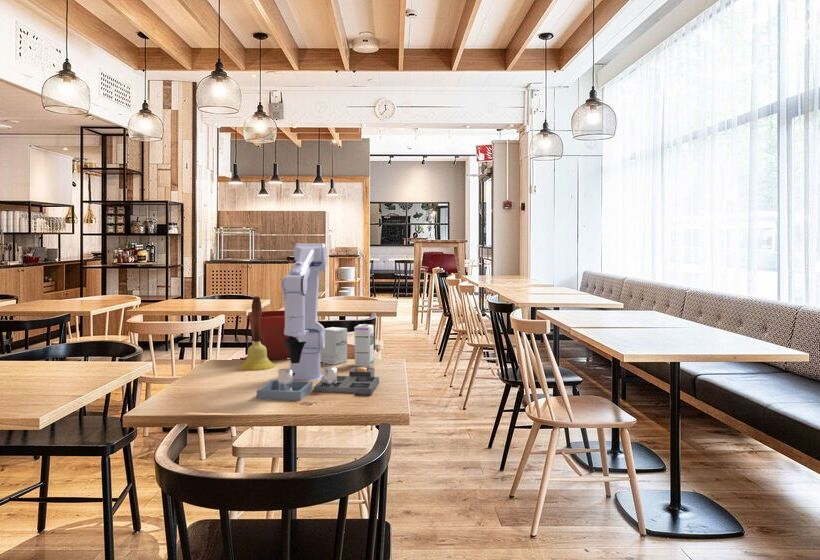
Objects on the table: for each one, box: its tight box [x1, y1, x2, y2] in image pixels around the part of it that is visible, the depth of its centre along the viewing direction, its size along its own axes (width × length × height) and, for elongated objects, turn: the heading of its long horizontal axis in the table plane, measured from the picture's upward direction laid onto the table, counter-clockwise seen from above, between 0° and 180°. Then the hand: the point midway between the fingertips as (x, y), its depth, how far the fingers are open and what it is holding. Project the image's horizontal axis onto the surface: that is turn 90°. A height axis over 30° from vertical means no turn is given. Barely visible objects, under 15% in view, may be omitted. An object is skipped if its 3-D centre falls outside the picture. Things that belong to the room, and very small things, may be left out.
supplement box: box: [320, 326, 348, 366], centre depth 222 cm, size 7×7×13 cm
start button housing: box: [348, 366, 375, 377], centre depth 197 cm, size 7×7×3 cm
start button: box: [357, 366, 367, 371], centre depth 197 cm, size 3×3×3 cm
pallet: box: [313, 375, 380, 396], centre depth 184 cm, size 17×15×2 cm
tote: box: [256, 379, 314, 402], centre depth 175 cm, size 13×13×3 cm
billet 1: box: [277, 368, 294, 391], centre depth 175 cm, size 4×4×7 cm
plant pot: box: [247, 309, 290, 361], centre depth 232 cm, size 19×19×17 cm
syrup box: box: [353, 323, 375, 367], centre depth 218 cm, size 6×6×14 cm
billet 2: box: [322, 366, 338, 387], centre depth 181 cm, size 4×4×7 cm
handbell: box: [239, 296, 276, 372], centre depth 213 cm, size 12×12×25 cm
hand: (295, 362), depth 176 cm, fingers closed
